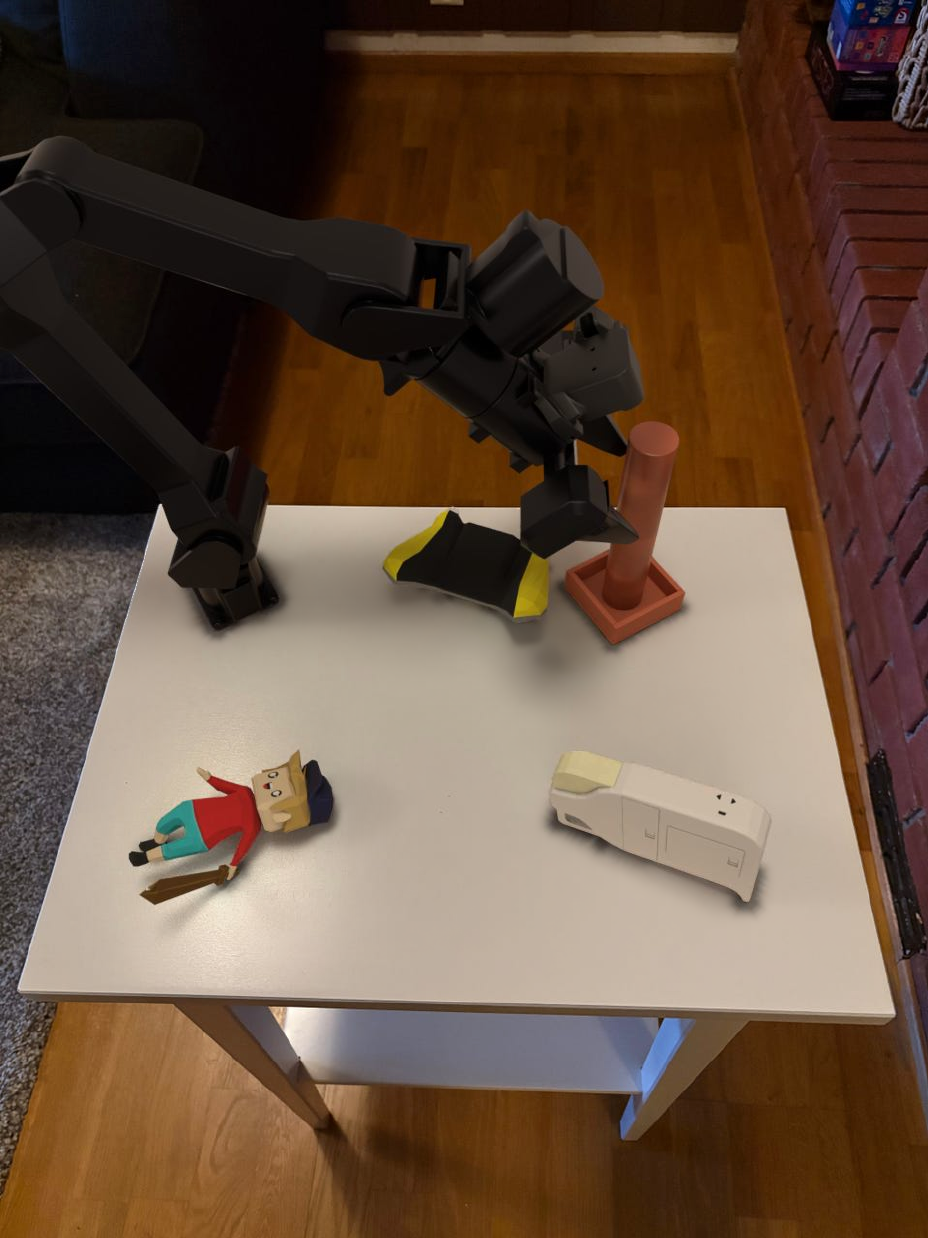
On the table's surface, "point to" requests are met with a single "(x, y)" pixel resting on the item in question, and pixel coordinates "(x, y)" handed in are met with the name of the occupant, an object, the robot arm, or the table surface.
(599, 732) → the table surface
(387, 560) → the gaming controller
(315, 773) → the toy
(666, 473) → the terracotta peg
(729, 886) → the white device casing
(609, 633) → the terracotta bin
